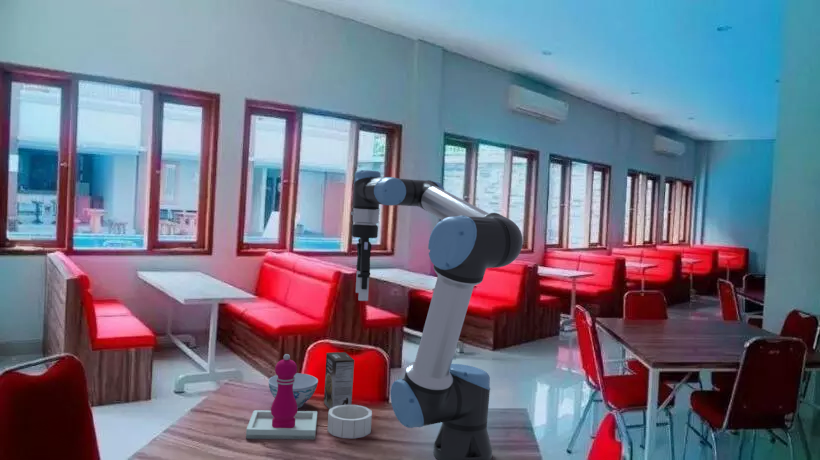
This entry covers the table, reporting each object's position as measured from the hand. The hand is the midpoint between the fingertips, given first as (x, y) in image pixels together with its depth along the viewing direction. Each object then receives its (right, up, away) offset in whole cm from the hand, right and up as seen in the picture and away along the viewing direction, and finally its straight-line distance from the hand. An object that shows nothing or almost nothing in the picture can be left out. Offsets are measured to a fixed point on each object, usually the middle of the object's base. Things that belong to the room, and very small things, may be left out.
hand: (361, 296), depth 176 cm
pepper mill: (-21, -35, -9) cm, 42 cm away
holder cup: (-3, -37, -7) cm, 37 cm away
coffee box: (-8, -36, +10) cm, 38 cm away
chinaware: (-22, -35, +10) cm, 42 cm away
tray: (-21, -36, -9) cm, 42 cm away
